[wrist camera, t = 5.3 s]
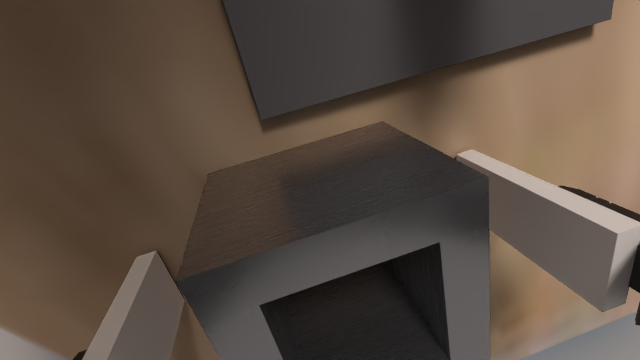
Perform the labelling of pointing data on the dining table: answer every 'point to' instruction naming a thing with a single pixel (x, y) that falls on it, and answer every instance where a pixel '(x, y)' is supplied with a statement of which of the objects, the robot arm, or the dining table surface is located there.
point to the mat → (381, 40)
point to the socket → (343, 253)
